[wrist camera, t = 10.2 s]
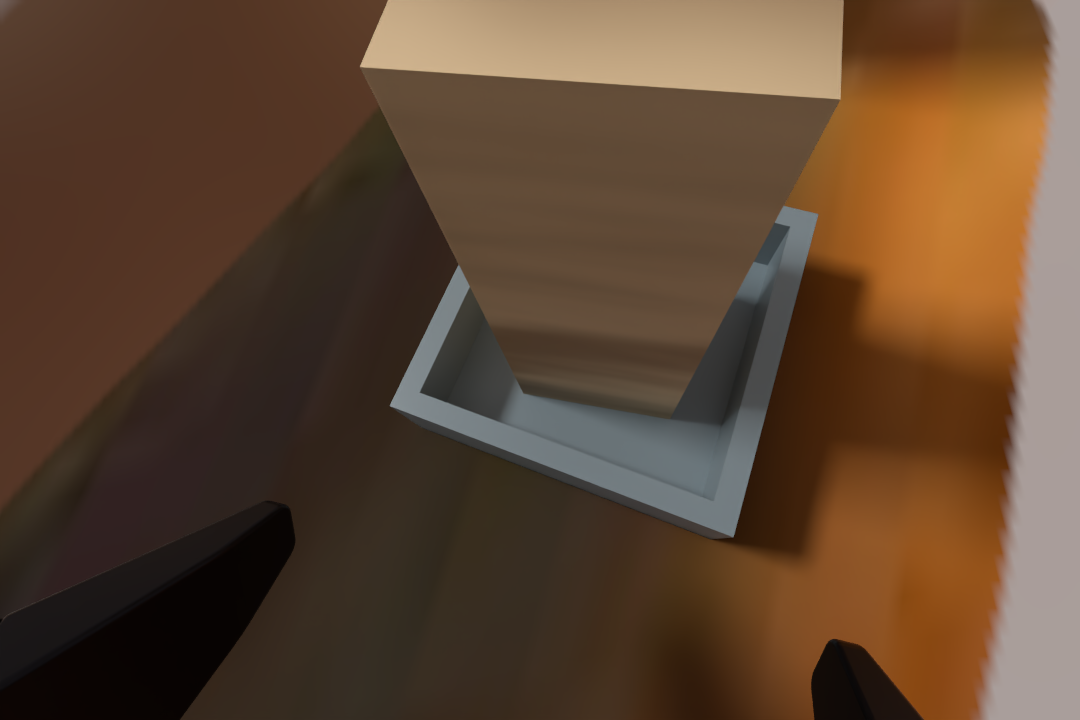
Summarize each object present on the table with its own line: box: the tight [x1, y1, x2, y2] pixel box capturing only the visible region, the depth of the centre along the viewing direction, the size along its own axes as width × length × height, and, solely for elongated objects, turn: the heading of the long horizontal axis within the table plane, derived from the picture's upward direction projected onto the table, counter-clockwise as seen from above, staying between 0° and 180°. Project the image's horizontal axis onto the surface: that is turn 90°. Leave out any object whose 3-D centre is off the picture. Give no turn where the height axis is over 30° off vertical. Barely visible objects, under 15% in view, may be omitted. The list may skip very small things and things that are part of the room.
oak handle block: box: [360, 0, 844, 419], centre depth 12 cm, size 5×5×13 cm
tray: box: [390, 206, 818, 539], centre depth 17 cm, size 10×10×3 cm
